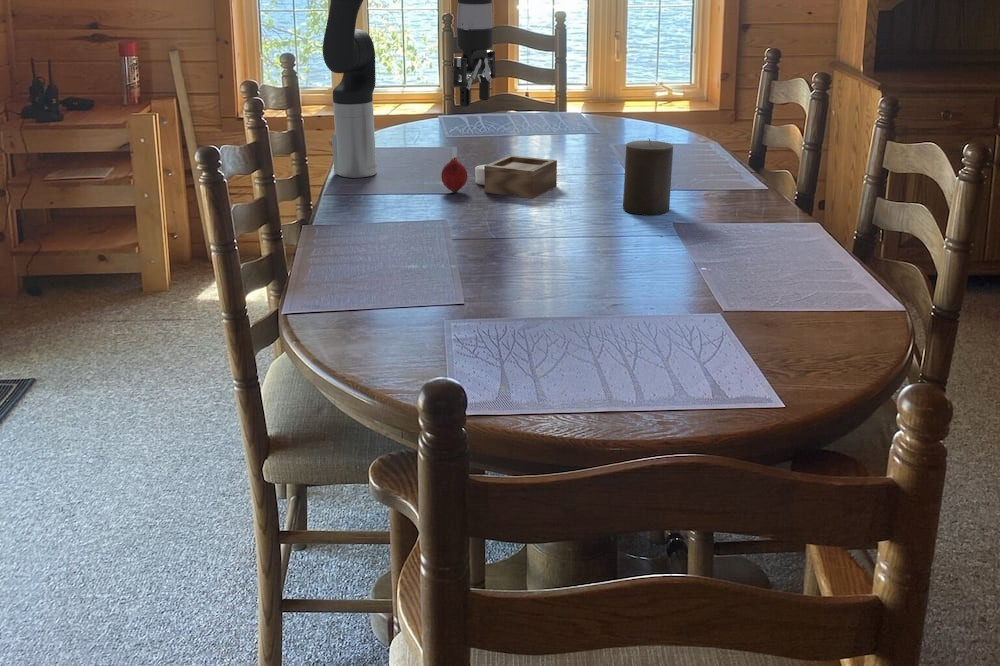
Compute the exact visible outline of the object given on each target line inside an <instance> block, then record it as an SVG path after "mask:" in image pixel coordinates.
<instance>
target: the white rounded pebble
mask: <svg viewBox="0 0 1000 666" xmlns="http://www.w3.org/2000/svg"><path fill="white" fill-rule="evenodd" d="M485 165H486V164H480V165H477V166H475V168H474V171H475V172H474V173H475V183H476V184H478V185H482V186H485V172H484V166H485Z"/></svg>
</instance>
